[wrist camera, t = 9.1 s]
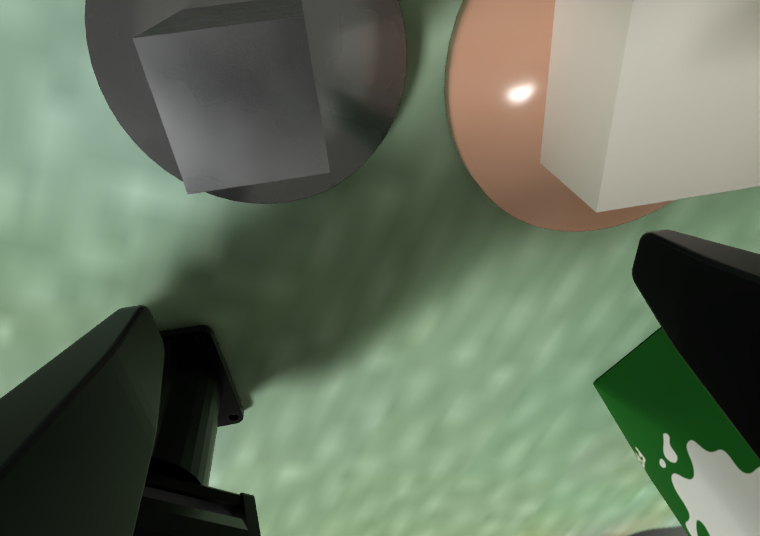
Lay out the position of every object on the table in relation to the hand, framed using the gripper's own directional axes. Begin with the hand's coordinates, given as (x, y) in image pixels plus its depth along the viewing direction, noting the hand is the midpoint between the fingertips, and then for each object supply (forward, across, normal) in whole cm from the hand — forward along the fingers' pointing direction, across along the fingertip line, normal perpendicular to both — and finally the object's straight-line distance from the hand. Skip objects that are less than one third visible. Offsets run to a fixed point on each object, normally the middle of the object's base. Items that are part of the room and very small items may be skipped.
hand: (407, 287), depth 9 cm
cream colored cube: (+10, -10, -1) cm, 14 cm away
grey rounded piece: (+11, +3, -2) cm, 12 cm away
